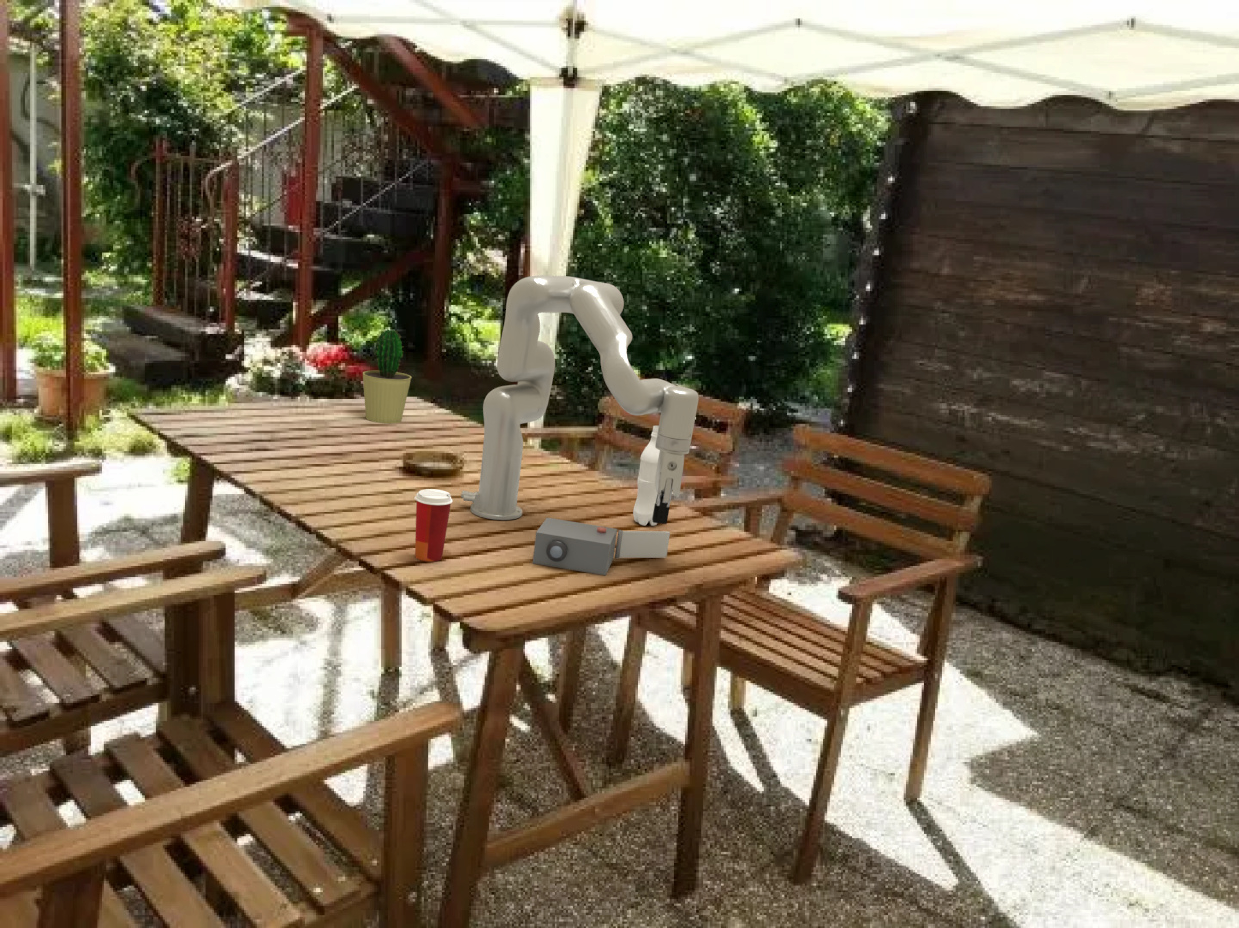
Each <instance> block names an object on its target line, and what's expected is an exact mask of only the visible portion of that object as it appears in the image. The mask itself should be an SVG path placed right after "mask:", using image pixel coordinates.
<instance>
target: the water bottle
mask: <svg viewBox="0 0 1239 928" xmlns="http://www.w3.org/2000/svg"><path fill="white" fill-rule="evenodd" d="M658 428H659V425H653V426H652V431H651V434H650V436H651V438H650V441H649V442H648V444H647V445H646V446H645V447H644V449H643V451H642V452H641V455H640V462H639V469H638V476H637V480H636V481H637V494H636V496H637V497H636V499H635V504H634V506H633V512H632V514H633V519H634V522H635V523H638V524H639V525H640V526H644V527H645V526H647V524H648V523H649V525H650V526H651V527H654V526H657V524H658V523H654V522H653V520H652V517H653V511H654V506H655V503H656V497H657V491H656V488H655V477H656V469H657V463H658V457H659V452H660V450H658V449H657V448H656V447H655V445H656V439H657V434H658ZM656 504H657V503H656Z"/></svg>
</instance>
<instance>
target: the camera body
mask: <svg viewBox="0 0 1239 928" xmlns="http://www.w3.org/2000/svg"><path fill="white" fill-rule="evenodd" d="M617 536H618V528H615V527H614V528H613V527H608V526H602V525H596V524H595V525H594V524H589V523H583V522H577V521H572V520H564V519H559V518H558V519H557V518H554V517H553V518H551V517H546V518H545V520H544V521H543V523H542V524H541V525H540V526H539V528H538V529H537V531H536V532H535V538H534V539H535V540H534V545H533V546H534V548H533V556H532V564H536V565H540V566H541V565H542V566H547V567H552V568H553V567H554V568H560V569H565V570H571V571H577V572H583V573H589V574H595V575H600V576H601V575H602V576H606V575H607V573H608V571H609V569H610V566H611V565H612V562H613V560H614V558H615V551H616V543H617Z"/></svg>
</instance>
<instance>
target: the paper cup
mask: <svg viewBox="0 0 1239 928" xmlns="http://www.w3.org/2000/svg"><path fill="white" fill-rule="evenodd" d="M414 500H415V501H416V507H415V545H414V549H415V551H414V553H415V554H414V557H415V558H416V559H417V560H419V561H421V562H427V563H430V562H431V563H433V562H440V561H441V560H442V558H443V555H444V549H445V542H446V537H447V530H448V523H449V519H450V511H451V504H452V503H453V499H452V495H451V493H450V492H448V491H445V490H442V489H434V488H430V489H429V488H426V489H421V490H418V492H417V493H416V494H415V496H414Z"/></svg>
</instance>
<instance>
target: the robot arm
mask: <svg viewBox="0 0 1239 928" xmlns="http://www.w3.org/2000/svg"><path fill="white" fill-rule="evenodd" d="M624 304H625V300H624V298H623V294H622V293H621V291H620V290H619V289H618V288H617V286H615V285H613V284H611V283H608V282H607V283H606V282H600V281H595V280H591V279H585V278H581V277H575V276H569V275H568V276H565V275H552V274H551V275H550V274H549V275H545V274H543V275H542V274H541V275H540V274H539V275H531V276H526V277H523V278H521V279H520V280H517V282H515V283H514V284H513V285H512V286H511V288H510V289H509V292H508V295H507V298H506V305H505V309H506V310H505V315H504V316H505V318H504V324H503V329H502V333H501V340H500V343H499V351H498V355H497V363H496V367H497V368H496V370H497V373H498V374H499V376H500V377H501V379H503V380H505V381H507V382H512V383H513V382H515V383H517V384H509V385H502V386H498V387H494V389H492V390H491V391H489V392H488V393H487V395H486V396H485V398H484V400H483V404H482V405H483V406H482V409H483V410H482V412H483V426H484V431H483V432H484V433H483V446H482V455H481V464H480V465H481V466H480V475H479V484H478V485H479V486H478V491H474V492H472V491H467V490H462V491H461V495H460V497H461V499H463V501H466V502H472V504H470V511H471V513H472V514H473V515H476V516H478V517H481V518H484V519H489V520H496V521H497V520H498V521H509V520H510V521H511V520H516V519H519V518H521V517H522V516H523V510H522V508H521V507H520V506H518V498H519V497H518V495H519V487H520V478H521V477H520V476H521V469H522V460H523V449H524V439H523V434H522V431H521V424H522V425H523V424H527V423H532V422H535V421H538V420H540V419H541V418H542V417H543V415H544V414H545V413H546V411H547V408H548V405H549V401H550V394H551V390H552V386H553V385H552V384H553V380H554V379H553V378H554V374H555V369H556V360H555V355H554V352H553V350H552V348H551V347H550V345H548V344H547V343H545V342H543V341H540V340H539V337H540V332H541V323H540V317H539V314H541V313H550V314H551V313H553V314H554V313H556V314H559V313H564V314H565V313H568V314H573V315H574V317H575V318H576V320H577V321H578V322H579V324H580V326H581V327H582V329H583V330H584V332H585V334H586V335H587V336H588V338H589V339H590V341H591V343H592V344H593V346H594V347H595V348H596V350H597V351H598V353H599V357H600V366H601V372H602V373H601V374H602V377H603V380H604V382H605V385H606V386H607V388H608V390H609V391H610V393H611V395H612V396H613V398H614V399H615V401H616V403H618V405H619V406H620V408H622V409H623V410H624V412H626V413H628V414H629V415H632V416H644V415H649V414H659V413H660V418H659V422H658V426H659V428H658V434H657V439H656V445H655V447H656V448H657V449H658V450H660V452H659V457H658V463H657V469H656V477H655V488H656V491H657V497H656V503H657V504H656V503H655V506H654V511H653V517H652V520H653V522H654V523H657V524H661V525H662V524H663V525H666V524H668V520H669V519H668V518H669V513H670V508H671V507H670V505H671V498H672V494H673V496H674V497H675V499H677V498H679V497H680V491H681V485H682V479H683V472H684V462H685V455H688V454H690V448H691V444H692V438H693V432H694V426H695V420H696V415H697V410H698V405H699V398H700V396H699V393H698V392H697V391H696V390H695V389H692V388H688V387H684V386H677V385H675V384H673V383H670V382H669V381H666V380H663V379H660V378H647V379H640V377H638V376H639V375H637V374H636V372H635V370H634V369H633V367H632V365H631V363H630V361H629V357H628V352H627V351H628V350H627V349H628V346H629V345H630V344H631V342H632V340H633V334H632V331H631V330H630V329H629V327H628V326H627V324H626V322H625V321H624V319H623V318H622V316H621V314H622V312H623V309H624Z"/></svg>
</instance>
